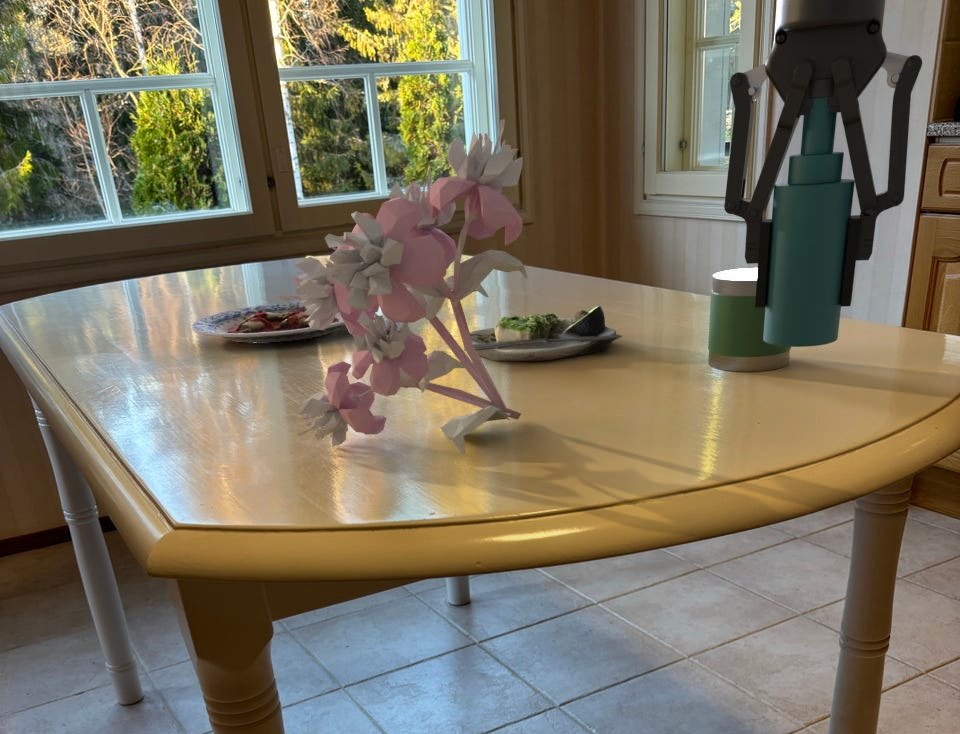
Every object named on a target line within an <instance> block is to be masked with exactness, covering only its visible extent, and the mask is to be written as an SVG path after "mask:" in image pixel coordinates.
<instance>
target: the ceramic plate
mask: <svg viewBox="0 0 960 734" xmlns="http://www.w3.org/2000/svg"><path fill="white" fill-rule="evenodd" d="M302 301H303V300H299V301H289V302H288V301H287V302H279V303H268V304H262V305H261V304H260V305H255V306H248V307H247V306H246V307H243V308H242V307H240V308H236V309H232V310H227V311H222V312H218V313H215V314H212V315H208V316H205V317H203V318H200V319H198V320H196V321H194V322H193V323H192V324H191V326H190V328H191V331H193V332H194V333H196V334H198V335H202V336H206V337H207V336H208V337H217V338H223V339H225V340H228V341H230V340H231V341H230V342H234V341H236V342H235V343H239V342H249V343H248V344H254V343H253V342H257V343H256V344H263V343H262V342H279V343H281V342H280V341H290V342H292V341H291V340H297V341H302V340H301V339H304V340H308V339H307V338H309V339H314V338H313V337H315V338H319V337H323V336H326V335H330V334H333V333H335V332H336V331H338V330H340V329H343V328H344V327H346V325H345V323H344V322H343V320H342V318H341V315H340V312H339V308H338V310H337V313H336V315H335V318H334V320H333V323H331V324H330V325H329V326H328V327H327V328H325V329H324V330H319V329H313V328H310V326H309V322H310V321H305V320H306V319H307V318H308V317H309V316H310V315H309V314H303V315H302V316H301V317H300V318H298V317H299V313H300V312H305V311H306V310H307V308H306V307H304V306H303V307H301V308H299V305H300V302H302ZM332 332H333V333H332ZM329 333H330V334H329ZM322 335H323V336H322ZM318 336H319V337H318ZM259 342H260V343H259Z"/></svg>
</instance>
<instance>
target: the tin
mask: <svg viewBox="0 0 960 734" xmlns="http://www.w3.org/2000/svg"><path fill="white" fill-rule="evenodd" d="M757 271H758V267H750V268H749V267H748V268H737V269H736V268H735V269H729V270H728V269H727V270H723V271H719V272H716V273H714V274H712V283H711V284H712V285H711V291H710V301H709V302H710V303H709V320H708V321H709V323H708V324H709V325H708V338H707V339H708V341H707V342H708V343H707V350H708V359H707V364H708V365H709V366H710V367H712V368H714V369H717V370H722V371H726V372H727V371H728V372H742V373H744V372H745V373H751V372H753V373H754V372H766V371H773V370H777V369H781V368H784V367H786V366H787V365H789V363H790V355H791V350H792V347H787V346H778V345H772V344H769V343H766V342H765V341H764V340H763V336H764V322H765V308H766V305H765V307H755V301H756V286H757Z"/></svg>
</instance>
